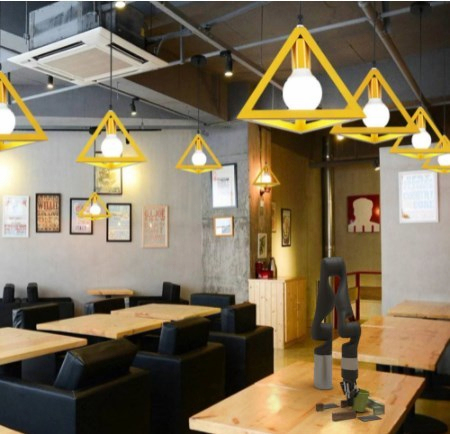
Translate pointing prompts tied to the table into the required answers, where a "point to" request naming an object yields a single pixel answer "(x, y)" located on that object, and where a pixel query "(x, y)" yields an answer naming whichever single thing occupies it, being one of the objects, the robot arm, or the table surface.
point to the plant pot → (360, 401)
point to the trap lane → (371, 403)
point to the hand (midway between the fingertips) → (349, 406)
